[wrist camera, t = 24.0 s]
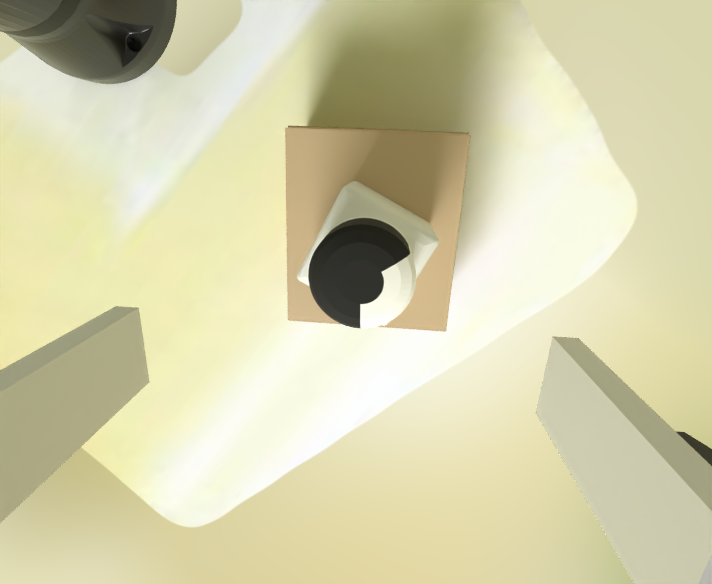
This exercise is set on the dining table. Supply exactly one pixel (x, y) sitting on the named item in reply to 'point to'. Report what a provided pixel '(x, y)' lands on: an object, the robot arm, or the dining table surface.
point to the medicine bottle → (367, 258)
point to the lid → (390, 179)
